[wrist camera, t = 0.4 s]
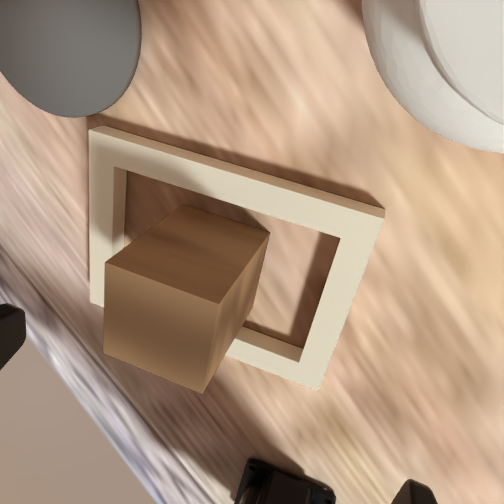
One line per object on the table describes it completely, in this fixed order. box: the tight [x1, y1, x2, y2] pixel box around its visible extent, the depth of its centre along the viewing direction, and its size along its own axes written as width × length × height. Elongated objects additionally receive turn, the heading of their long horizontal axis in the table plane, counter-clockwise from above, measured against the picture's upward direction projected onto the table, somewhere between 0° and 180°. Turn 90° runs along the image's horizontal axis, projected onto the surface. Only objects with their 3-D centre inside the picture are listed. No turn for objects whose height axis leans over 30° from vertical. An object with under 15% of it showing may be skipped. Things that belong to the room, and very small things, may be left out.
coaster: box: [0, 0, 141, 118], centre depth 20 cm, size 9×9×1 cm
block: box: [103, 204, 270, 394], centre depth 21 cm, size 5×5×7 cm
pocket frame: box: [89, 125, 386, 391], centre depth 23 cm, size 11×15×1 cm
